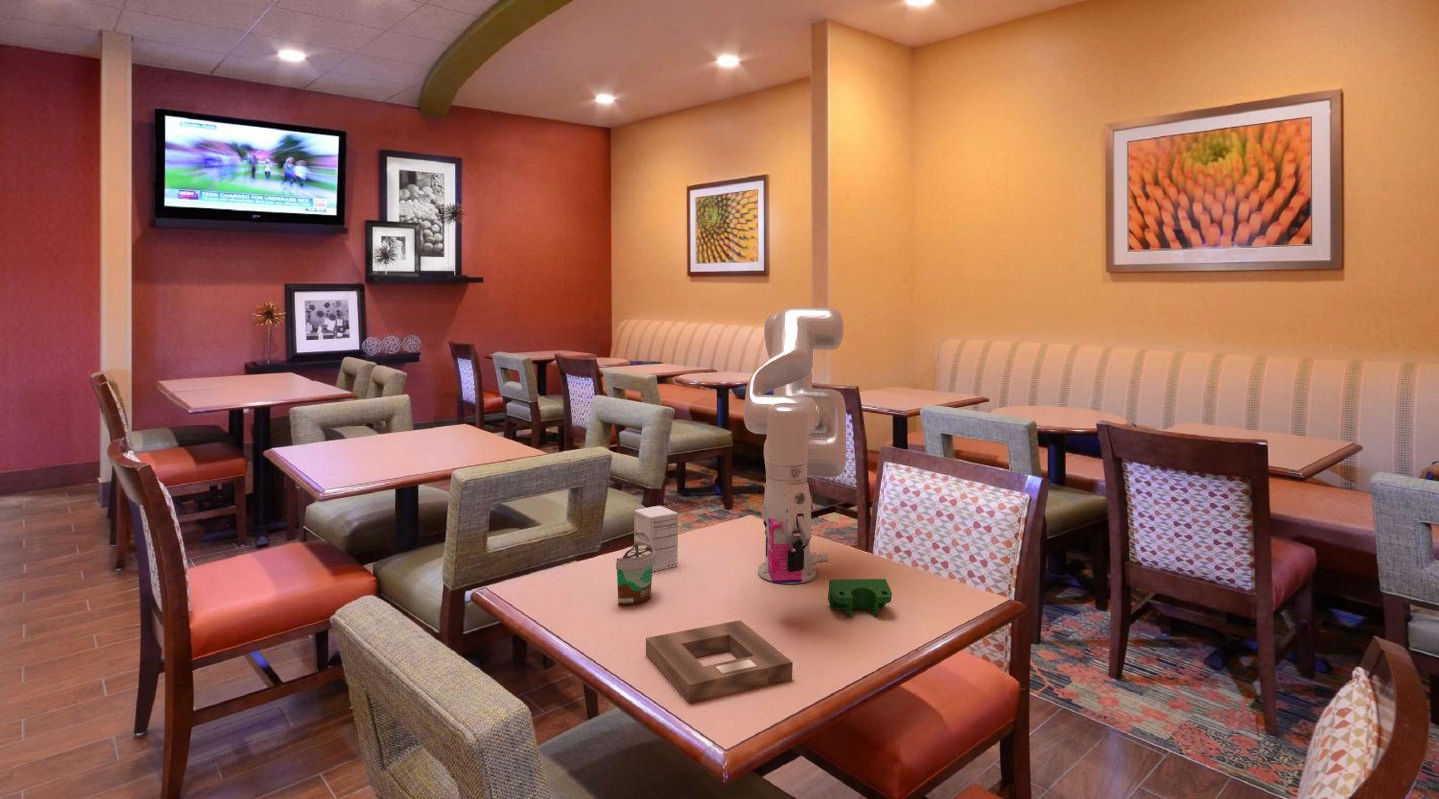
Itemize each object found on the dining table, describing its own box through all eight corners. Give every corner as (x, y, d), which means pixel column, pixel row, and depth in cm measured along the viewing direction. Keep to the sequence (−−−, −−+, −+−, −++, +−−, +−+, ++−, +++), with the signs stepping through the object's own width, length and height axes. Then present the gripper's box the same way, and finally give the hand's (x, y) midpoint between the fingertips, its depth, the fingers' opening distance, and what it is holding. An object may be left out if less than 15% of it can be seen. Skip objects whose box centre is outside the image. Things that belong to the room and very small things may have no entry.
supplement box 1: (633, 563, 182) (633, 509, 181) (661, 557, 187) (661, 504, 185) (650, 573, 176) (650, 517, 175) (678, 566, 181) (679, 512, 179)
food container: (646, 611, 155) (646, 561, 154) (615, 608, 157) (615, 559, 155) (663, 588, 167) (663, 542, 166) (634, 586, 169) (634, 539, 167)
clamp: (841, 636, 156) (826, 601, 152) (835, 617, 161) (821, 582, 158) (900, 615, 155) (887, 579, 152) (892, 597, 160) (879, 561, 157)
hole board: (740, 636, 145) (740, 619, 145) (792, 679, 129) (792, 660, 129) (645, 654, 137) (645, 636, 137) (688, 703, 121) (689, 683, 121)
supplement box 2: (766, 571, 154) (767, 513, 152) (796, 570, 154) (798, 513, 152) (770, 583, 148) (771, 524, 146) (802, 583, 149) (804, 523, 147)
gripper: (830, 480, 141) (827, 576, 145) (780, 457, 157) (778, 544, 160) (793, 485, 138) (791, 583, 141) (746, 461, 154) (744, 550, 157)
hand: (784, 562), depth 151 cm, fingers closed on supplement box 2, 7 cm apart
